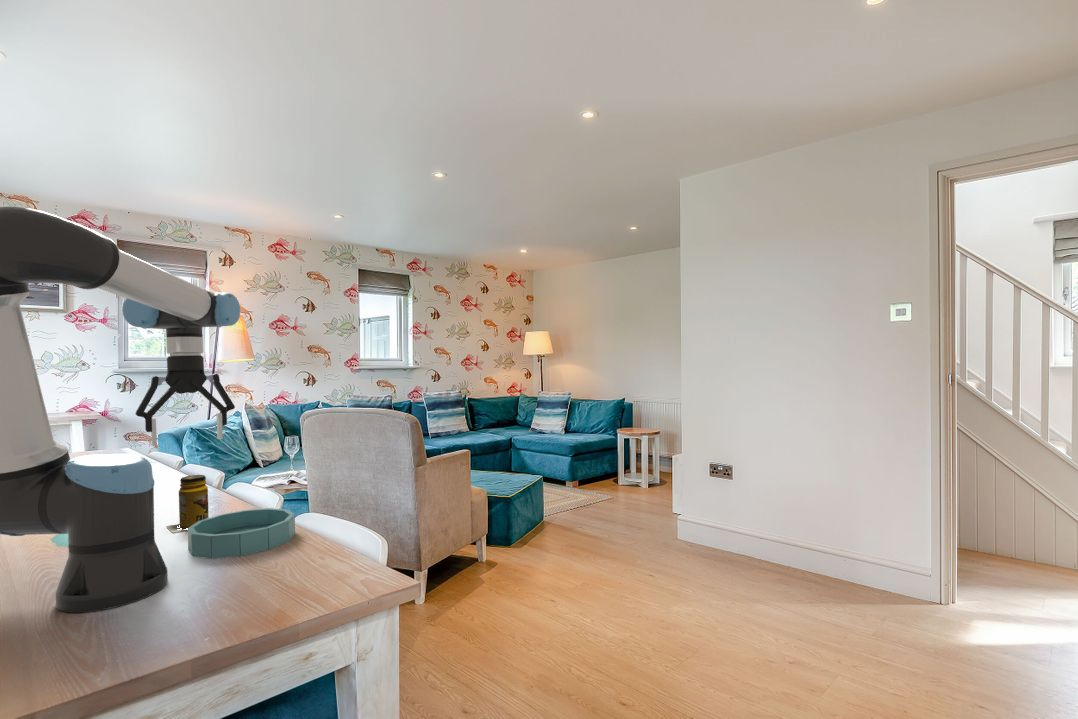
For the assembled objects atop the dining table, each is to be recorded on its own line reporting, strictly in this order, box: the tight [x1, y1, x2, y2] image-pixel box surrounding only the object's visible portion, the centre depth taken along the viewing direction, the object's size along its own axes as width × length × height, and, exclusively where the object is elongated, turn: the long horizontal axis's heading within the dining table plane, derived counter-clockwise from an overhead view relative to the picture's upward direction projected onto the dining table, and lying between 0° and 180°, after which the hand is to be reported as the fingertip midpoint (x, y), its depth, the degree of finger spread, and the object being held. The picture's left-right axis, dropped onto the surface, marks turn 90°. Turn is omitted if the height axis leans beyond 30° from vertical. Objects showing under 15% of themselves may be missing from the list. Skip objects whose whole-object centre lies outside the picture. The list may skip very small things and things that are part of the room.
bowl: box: [187, 507, 296, 559], centre depth 120 cm, size 20×20×4 cm
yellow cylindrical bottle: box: [166, 474, 210, 534], centre depth 133 cm, size 7×8×12 cm
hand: (188, 442), depth 134 cm, fingers open, 13 cm apart
